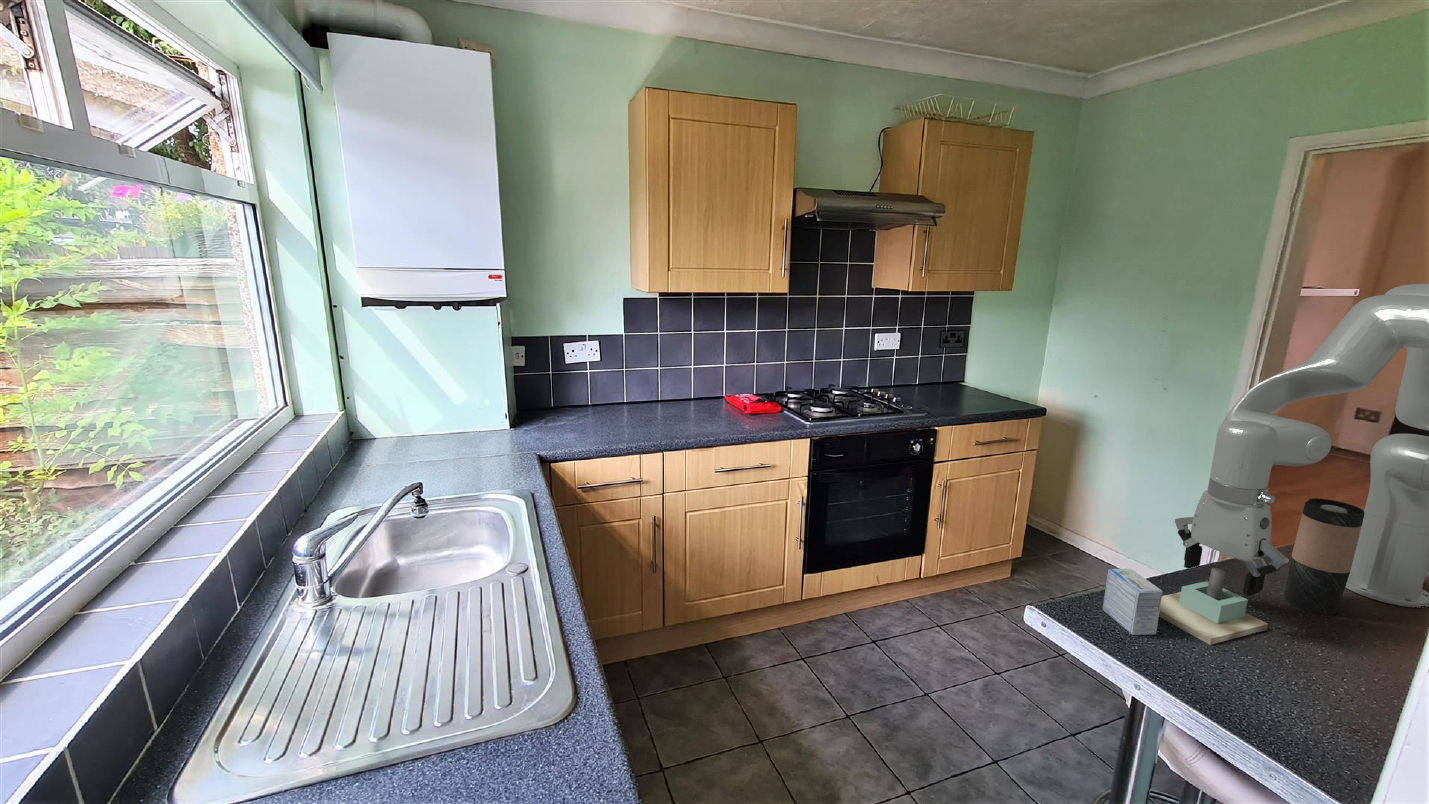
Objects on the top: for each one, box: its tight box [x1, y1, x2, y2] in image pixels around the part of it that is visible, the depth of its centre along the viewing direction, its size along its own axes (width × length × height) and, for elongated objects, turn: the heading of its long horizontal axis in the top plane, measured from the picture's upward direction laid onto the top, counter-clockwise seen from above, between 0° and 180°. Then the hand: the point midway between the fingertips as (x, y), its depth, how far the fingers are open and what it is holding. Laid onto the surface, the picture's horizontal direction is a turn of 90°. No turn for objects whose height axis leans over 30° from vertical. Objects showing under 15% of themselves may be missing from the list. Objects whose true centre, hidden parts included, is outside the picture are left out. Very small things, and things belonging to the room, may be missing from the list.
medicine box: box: [1102, 568, 1163, 636], centre depth 103 cm, size 8×4×9 cm, turn 0°
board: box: [1159, 567, 1269, 646], centre depth 104 cm, size 14×12×9 cm
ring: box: [1179, 580, 1249, 624], centre depth 105 cm, size 7×7×4 cm
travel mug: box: [1283, 497, 1365, 616], centre depth 106 cm, size 8×8×20 cm
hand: (1220, 579), depth 104 cm, fingers open, 9 cm apart
